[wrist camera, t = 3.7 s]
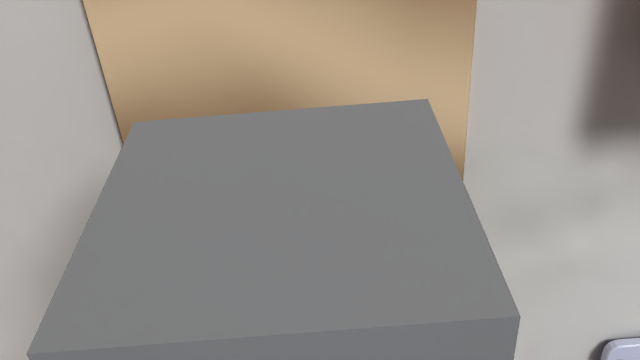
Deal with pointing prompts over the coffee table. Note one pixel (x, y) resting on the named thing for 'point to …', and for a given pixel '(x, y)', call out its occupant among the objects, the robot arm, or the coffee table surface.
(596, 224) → the coffee table surface
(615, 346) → the robot arm
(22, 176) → the coffee table surface
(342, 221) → the gray rectangular block
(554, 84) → the coffee table surface
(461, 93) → the wooden board
